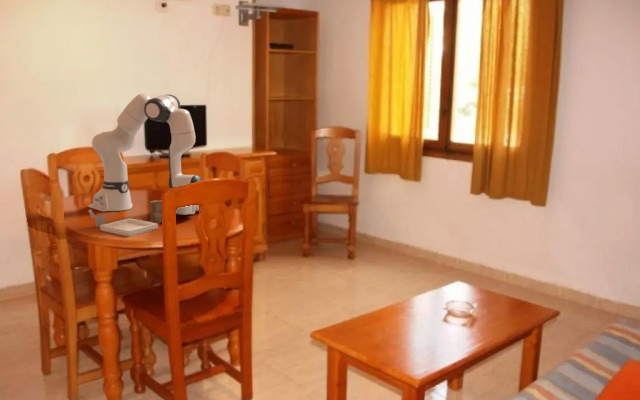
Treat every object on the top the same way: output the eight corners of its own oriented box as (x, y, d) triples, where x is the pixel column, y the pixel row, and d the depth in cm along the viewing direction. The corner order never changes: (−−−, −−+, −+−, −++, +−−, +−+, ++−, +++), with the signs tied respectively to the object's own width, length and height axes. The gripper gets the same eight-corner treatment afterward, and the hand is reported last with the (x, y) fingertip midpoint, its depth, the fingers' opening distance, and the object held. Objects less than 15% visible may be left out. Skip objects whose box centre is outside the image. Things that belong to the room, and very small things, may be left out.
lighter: (105, 225, 268) (104, 207, 266) (106, 225, 267) (105, 208, 265) (88, 226, 264) (87, 209, 263) (89, 227, 263) (88, 210, 261)
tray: (100, 230, 259) (100, 225, 258) (129, 223, 272) (129, 218, 272) (129, 236, 250) (129, 231, 249) (158, 229, 263) (157, 223, 263)
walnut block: (150, 222, 274) (149, 201, 272) (157, 221, 277) (156, 200, 275) (156, 224, 272) (156, 202, 270) (163, 222, 275) (162, 201, 273)
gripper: (165, 196, 291) (144, 200, 280) (197, 201, 281) (176, 206, 270) (165, 208, 293) (144, 213, 281) (197, 214, 283) (176, 219, 271)
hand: (160, 210), depth 275 cm, fingers open, 8 cm apart
